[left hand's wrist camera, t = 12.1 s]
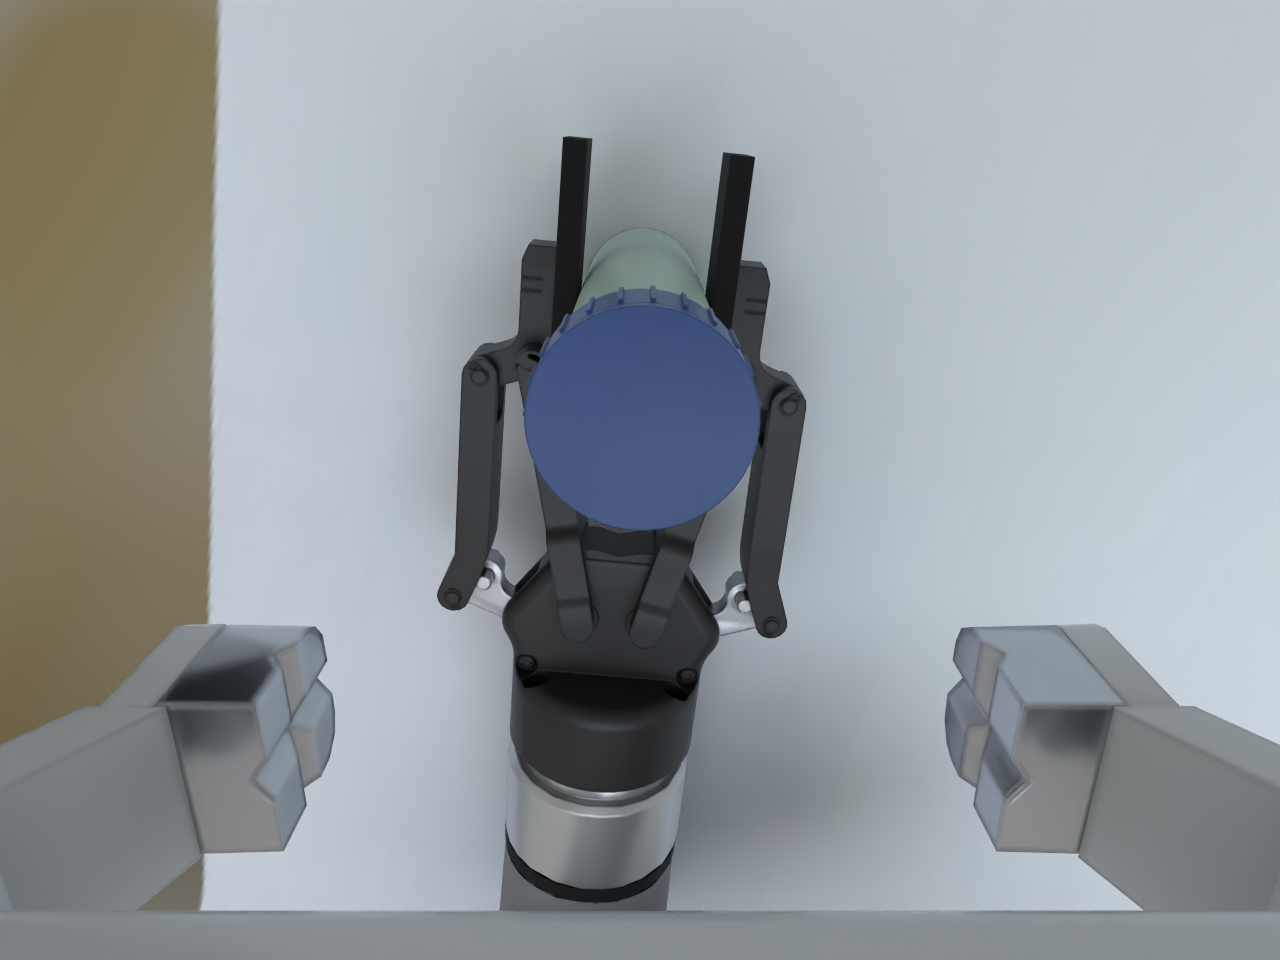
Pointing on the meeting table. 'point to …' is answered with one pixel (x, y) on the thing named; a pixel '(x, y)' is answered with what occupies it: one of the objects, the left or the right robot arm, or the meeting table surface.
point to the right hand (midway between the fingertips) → (658, 147)
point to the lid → (642, 410)
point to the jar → (642, 267)
